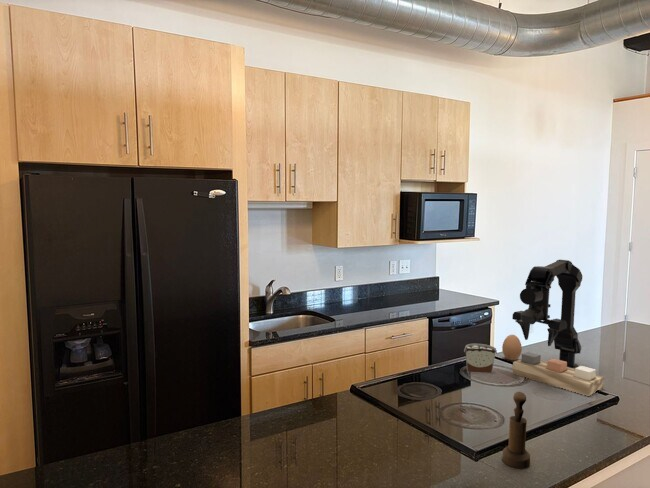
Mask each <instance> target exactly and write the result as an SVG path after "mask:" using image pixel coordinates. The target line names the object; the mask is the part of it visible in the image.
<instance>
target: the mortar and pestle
mask: <svg viewBox="0 0 650 488" xmlns="http://www.w3.org/2000/svg"><path fill="white" fill-rule="evenodd" d="M512 399H513V401H514V404H515V408H514V409H513V412H514V415H511V416H509V428H508V446H505V448H503V449H502V457H501V459H502V461H503V463H504V464H506V465H507V466H510V467H512V468H515V469H525V468H528V467H530V465H531V454H530V453H529V452H528V451H527V450H526V440H527V438H526V437H527V422H528V420H527V419H526V418H525V417H523V416H524V412H525V410H524V409H523V406H524V405H525V403H526V401H527V395H526V394H525V393H524V392H522V391H515V392H514V394H513V398H512Z"/></svg>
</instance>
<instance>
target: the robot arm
mask: <svg viewBox="0 0 650 488" xmlns="http://www.w3.org/2000/svg"><path fill="white" fill-rule="evenodd" d="M555 278H557V282H558V286H559V288H560V290H561V293H562V294H561V307H560V308H561V311H560V319H559V318H553V319H550V318H551V317H550V314H549V308H551V304H550V303H549V302H550V290H551V288H552V284H553V282H554V281H555ZM582 281H583V274H582V272H581V270H580V269H579V268H578V267H577V266H576V265H574V264H573V262H572V261H570V260H568V259H556V261H554V262H552V263H550V264H547V265H545V266H540V265H539V266H538V265H537V266H533V267H532V268H531V269H530V270H529V273H528V276H527V278H526V281H525V284H524V285H525V288H523V289H522V290H521V291H520V293H519V299H520V301H521V303H523V304H524V305H526V306H527V305H528V308H527V309H525V310H517V311H514V312H513V313H512V320H514V321H515V323H517V324H518V325H519V326H520V328H521V331H522V334H523V338H524V340H525V341H527V340H528V339H529V335H530V329H531V325H535V323H539V324H544V325H547V326H548V328H547V332H548V335H547V336H548V337H547V346H548V347H551V346H552V344H554V349H555V350H559V357H558V360H562V361H565V362H567V367H569V368H573V369H575V368H577V367H579V365H578V364H577V363H575V361H576V354H581V352H582V345H581V343H580V340H579V337H578V336H579V335H578V334H579V333H578V332H577V330H576V329H575V325H574V323H575V312H576V311H575V308H576V294H577V291H578V289H579V288H580V287H581V283H582Z"/></svg>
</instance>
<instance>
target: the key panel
mask: <svg viewBox="0 0 650 488" xmlns="http://www.w3.org/2000/svg"><path fill="white" fill-rule="evenodd" d="M521 360H522V358H521V359H517V360H514V361H513V362H512V371H511V372H512V373H513V374H512V373H511V374H512V375H515V374H516V375H517V376H518V377H519V376H520V377H521V378H525V377H526V378H525V379H528V378H529V380H532V381H535V380H536V381H535V382H538V381H540V382H539V383H541V382H543V383H542V384H545V383H547V384H546V385H548V384H550V385H549V386H551V385H554V386H557V387H556V388H558V387H560V388H559V389H561V388H563V389H562V390H564V389H566V390H565V391H567V390H569V391H568V392H571V391H572V392H571V393H574V392H576V393H575V394H577V393H580V394H584V395H588V396H589V395H591V394H592V393H594V392H596V391H597V390H601V391H602V390H604V379H605V377H604V376H603V375H598V374H596V375H595V378H594V379H592V380H590V381H588V380H585V379H581V378H578V377H574V376H575V368H569V367H567V370H565V371H563V372H557V371H553V370H550V369H547V361H548V360H547V361H546V360H542V359H540V363H538V364H535V365H532V364H528V363H525V362H521ZM516 375H515V376H516ZM554 386H553V387H554ZM580 394H579V395H580ZM584 395H583V396H584ZM591 396H592V395H591Z"/></svg>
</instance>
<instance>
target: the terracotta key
mask: <svg viewBox="0 0 650 488" xmlns="http://www.w3.org/2000/svg"><path fill="white" fill-rule="evenodd" d="M547 369H550V370H553V371H557V372H563V371H565V370H567V362H565V361H562V360H559V358H558V359H557V358H552V359H549V360H547Z"/></svg>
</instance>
